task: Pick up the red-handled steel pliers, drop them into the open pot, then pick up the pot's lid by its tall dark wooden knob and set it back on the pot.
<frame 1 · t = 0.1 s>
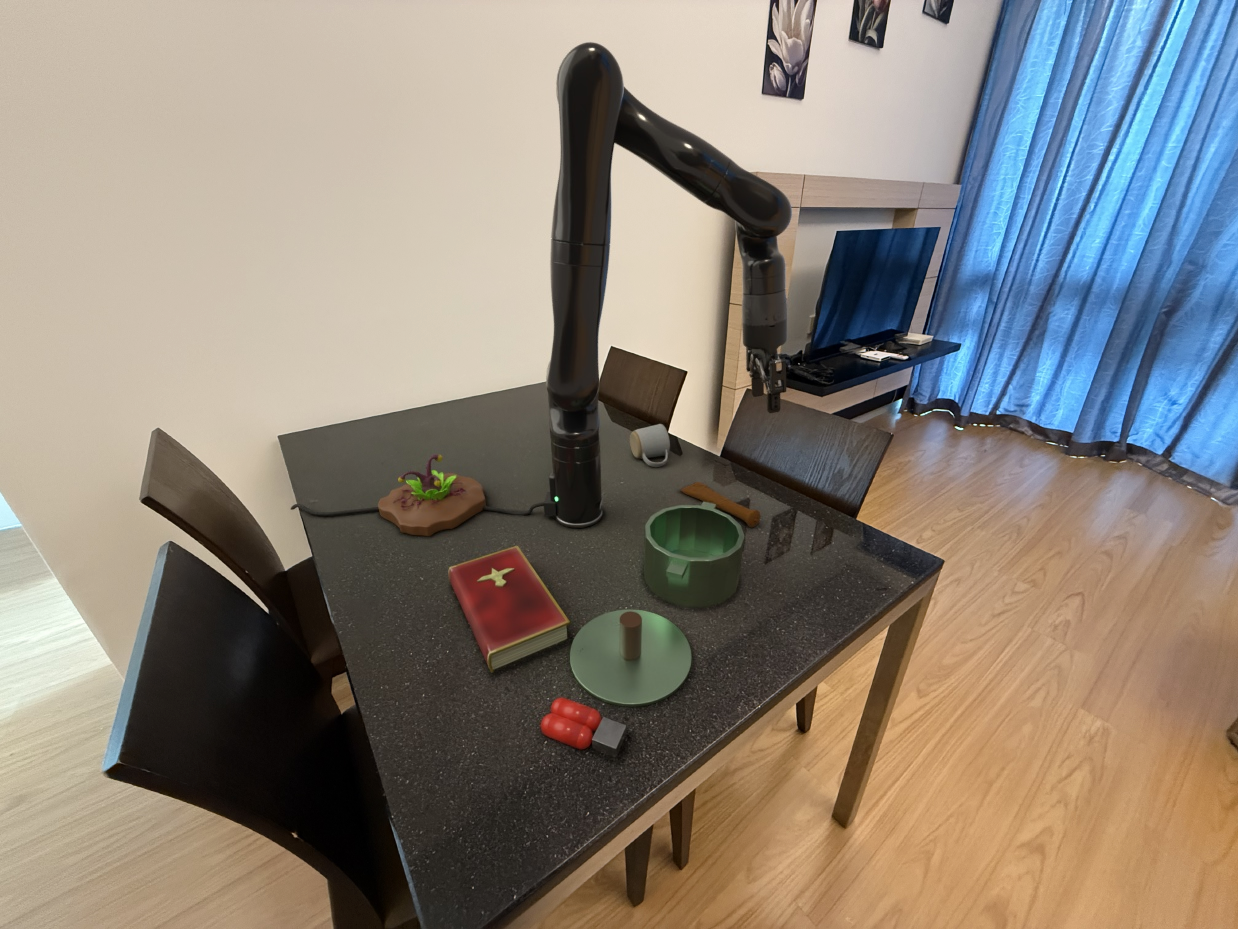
hand: (765, 403, 99), 22 cm above the table, tool pointing down, fingers open, 8 cm apart
lid: (630, 654, 73), point 1 cm above the table
ceramic mug: (652, 458, 129), on the table
pot: (690, 577, 89), on the table
primitive tool: (717, 507, 109), on the table
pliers: (582, 734, 63), on the table
plant: (437, 507, 110), on the table
hardcover book: (506, 613, 82), on the table
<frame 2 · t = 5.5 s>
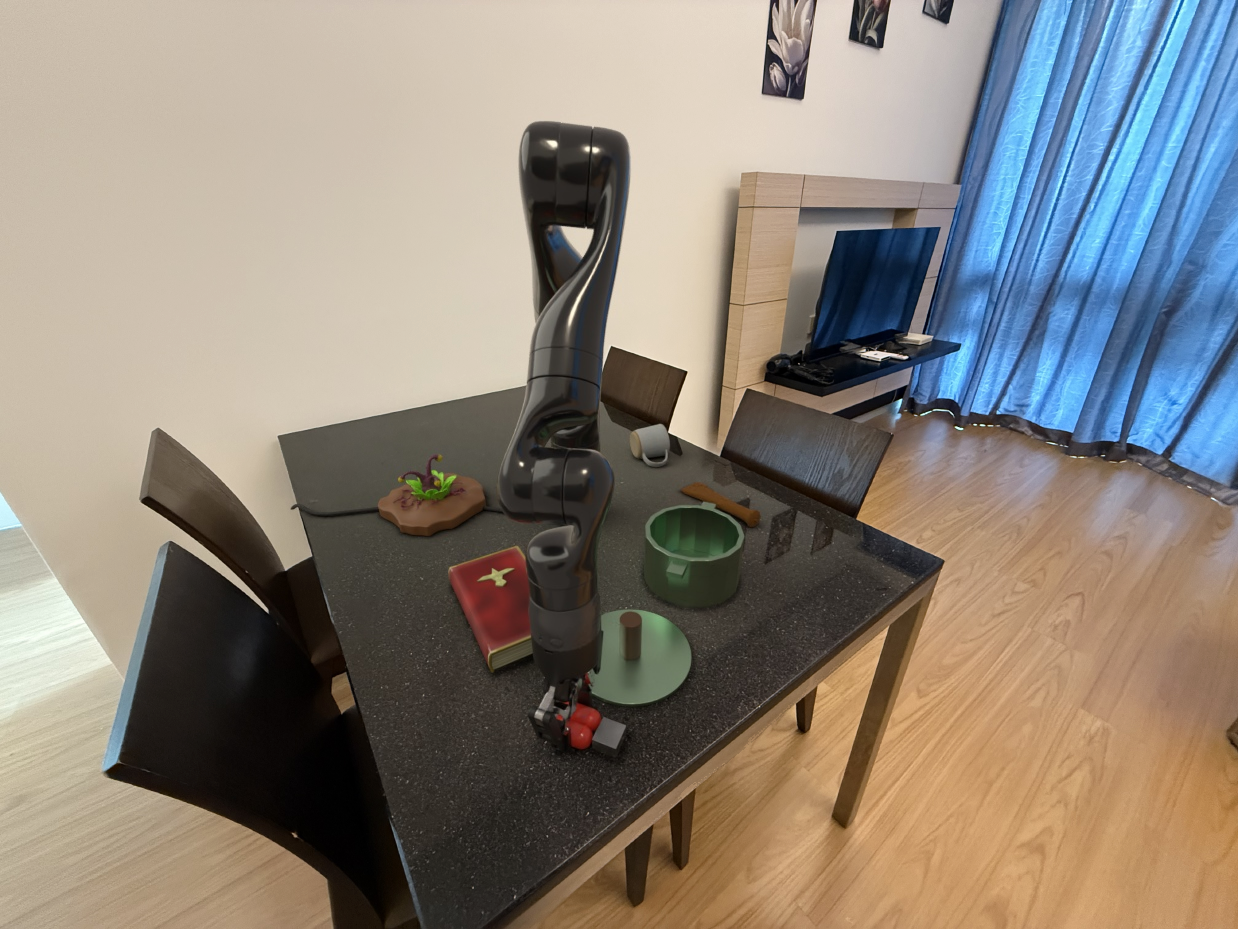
hand: (572, 727, 63), 1 cm above the table, tool pointing down, fingers closed on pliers, 5 cm apart
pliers: (582, 734, 63), on the table, touching gripper
everything else where it was.
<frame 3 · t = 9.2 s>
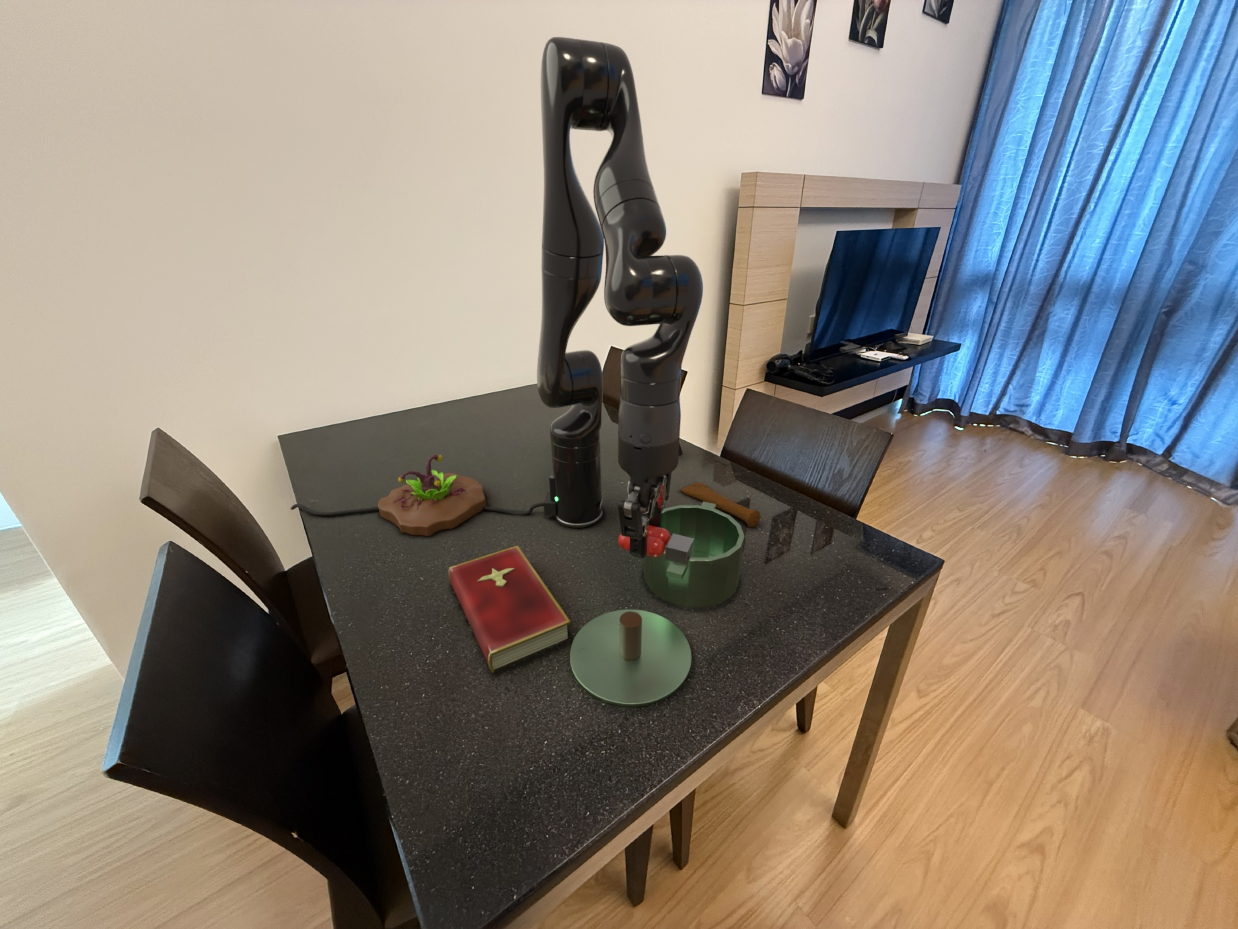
hand: (645, 543, 72), 15 cm above the table, tool pointing down, fingers closed on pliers, 5 cm apart
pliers: (654, 549, 72), point 14 cm above the table, touching gripper
everything else where it was.
when the fingers open (7 cm above the table, at t = 13.0 s): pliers drops 6 cm, resting on pot.
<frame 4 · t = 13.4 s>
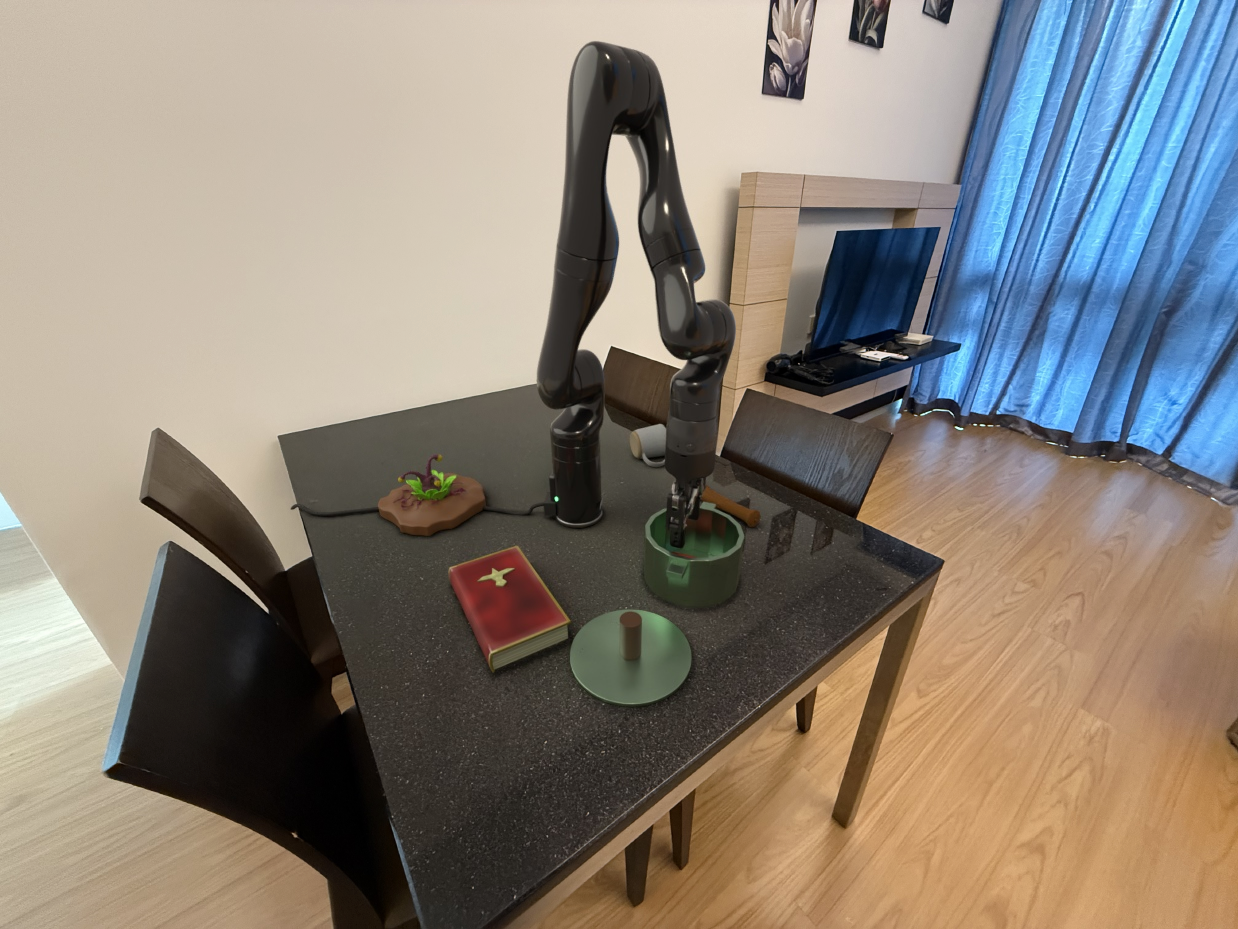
hand: (684, 531, 85), 9 cm above the table, tool pointing down, fingers open, 8 cm apart
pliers: (690, 574, 89), resting on pot
everything else where it was.
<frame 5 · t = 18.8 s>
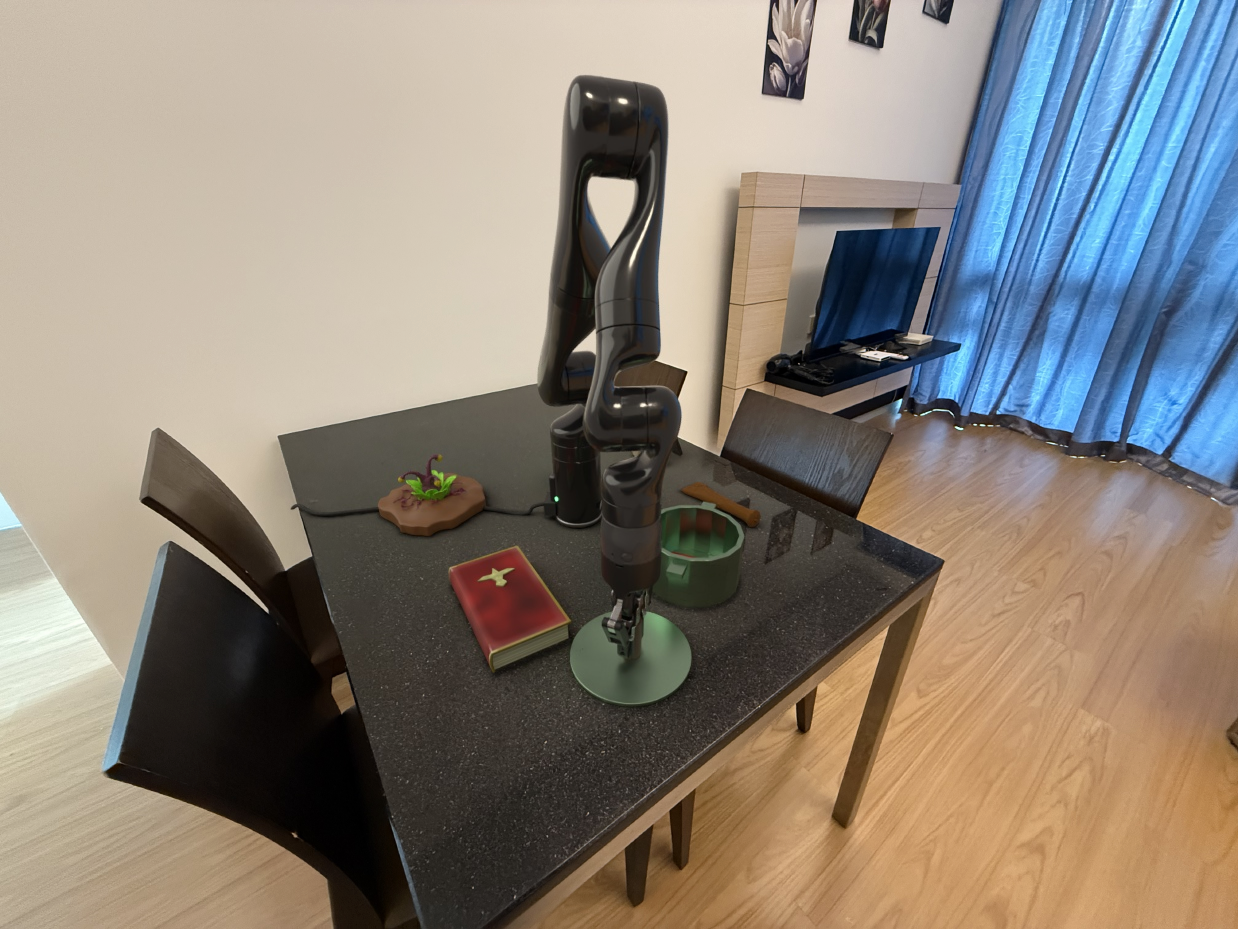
hand: (630, 645, 72), 2 cm above the table, tool pointing down, fingers closed on lid, 3 cm apart
lid: (630, 654, 73), point 1 cm above the table, touching gripper
everything else where it was.
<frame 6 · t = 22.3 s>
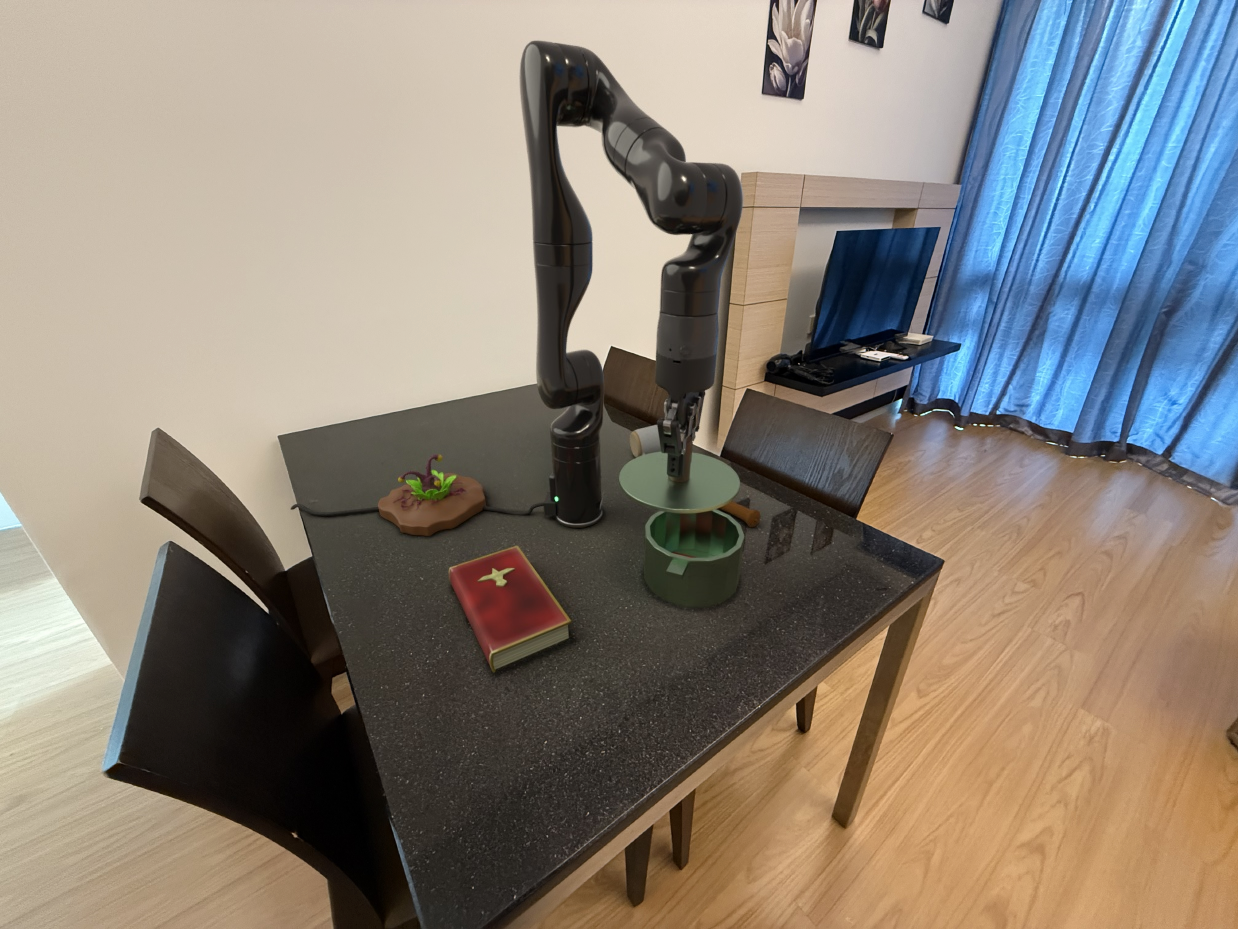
hand: (679, 469, 73), 23 cm above the table, tool pointing down, fingers closed on lid, 3 cm apart
lid: (678, 481, 74), point 22 cm above the table, touching gripper
everything else where it was.
when the fingers open (11 cm above the table, at t = 26.1 s): lid stays where it is, resting on pot.
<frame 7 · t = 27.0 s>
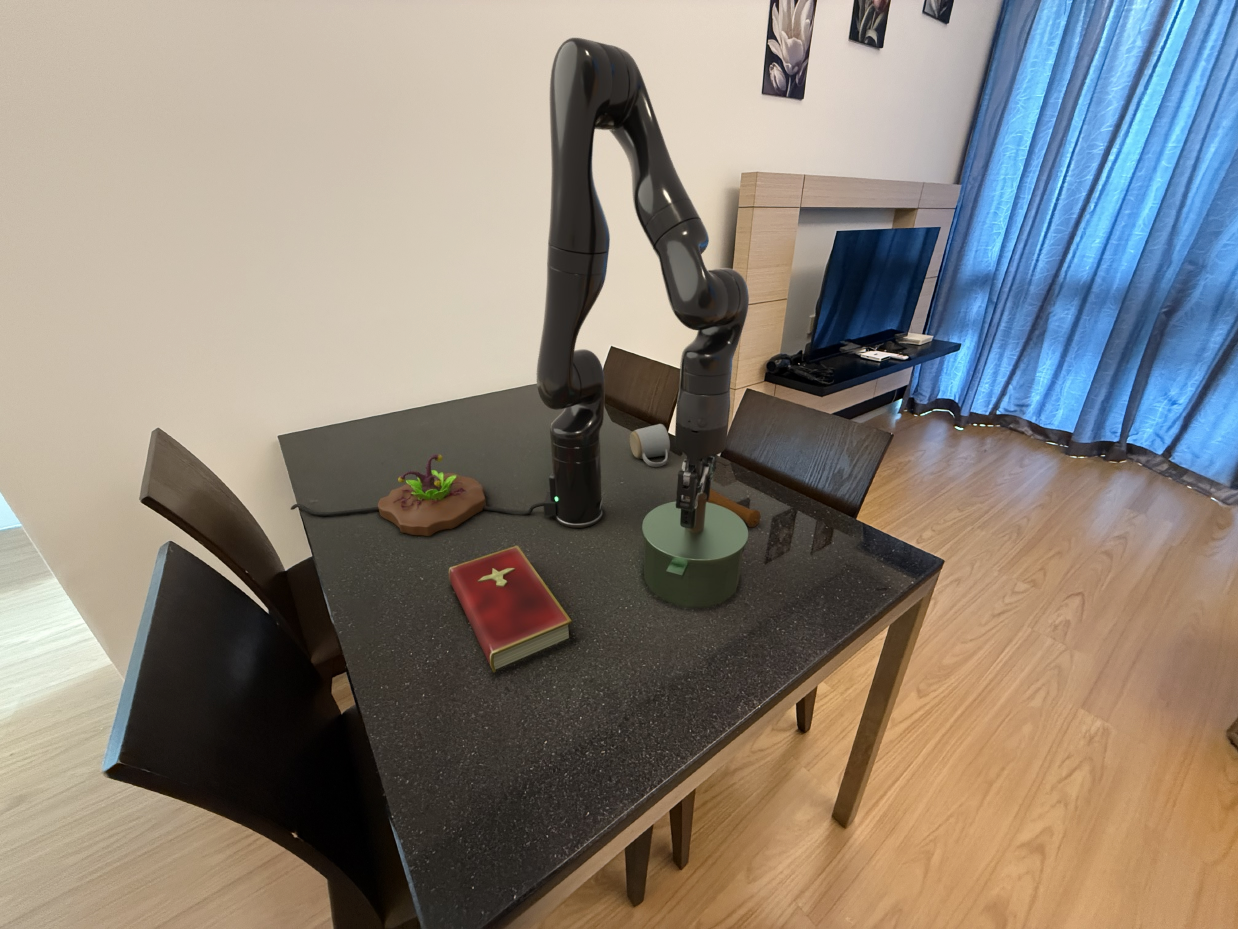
hand: (695, 512, 83), 13 cm above the table, tool pointing down, fingers open, 8 cm apart
lid: (694, 530, 84), point 9 cm above the table, touching pot
everything else where it was.
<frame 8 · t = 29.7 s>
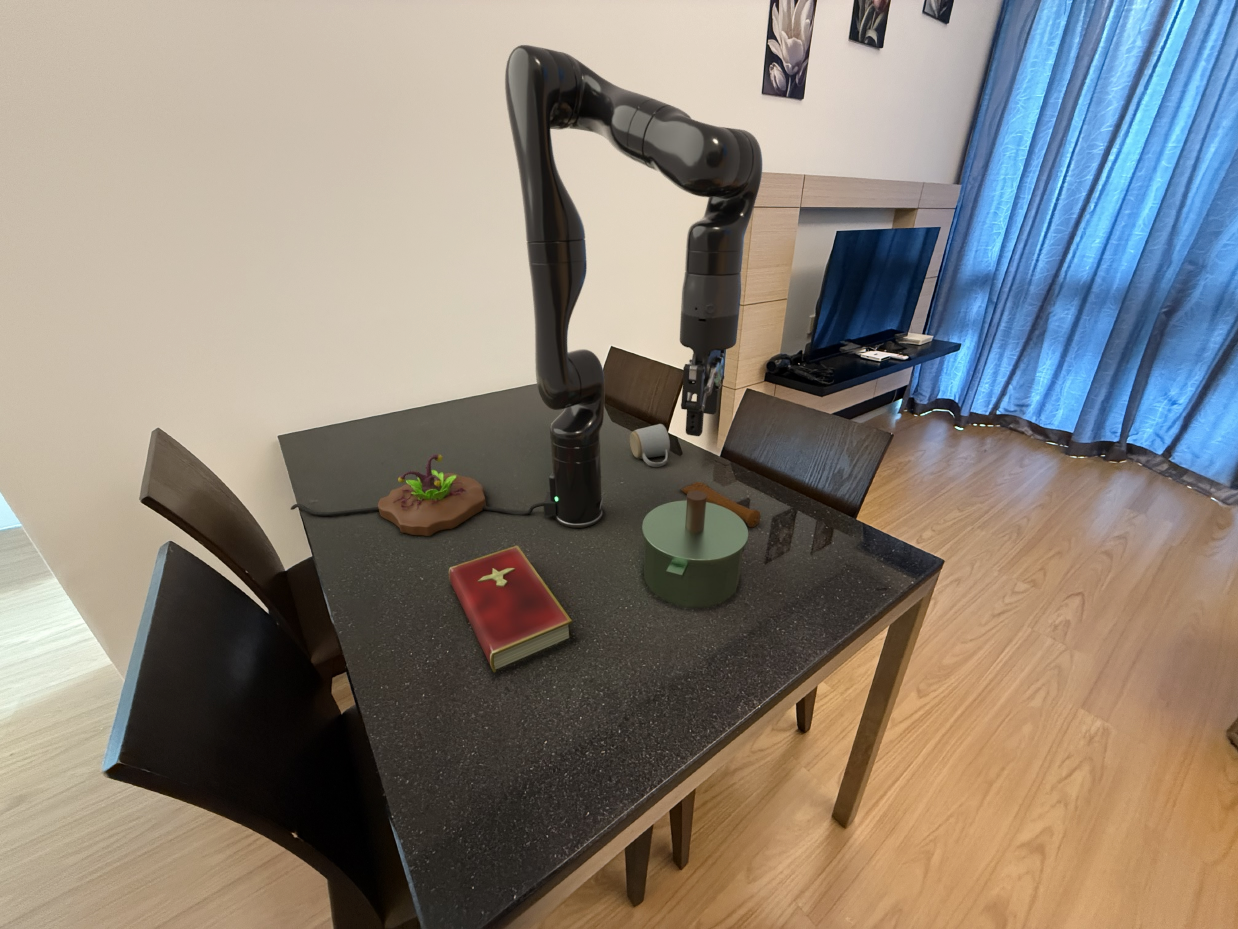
hand: (701, 423, 76), 28 cm above the table, tool pointing down, fingers open, 8 cm apart
nothing on the table moved.
at the end: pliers inside the target area in the pot (0.1 cm from its centre), point 0.5 cm above the pot's base; lid 0.1 cm off-centre on the pot, point 9.5 cm above the pot's base; lid tilted 0° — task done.
